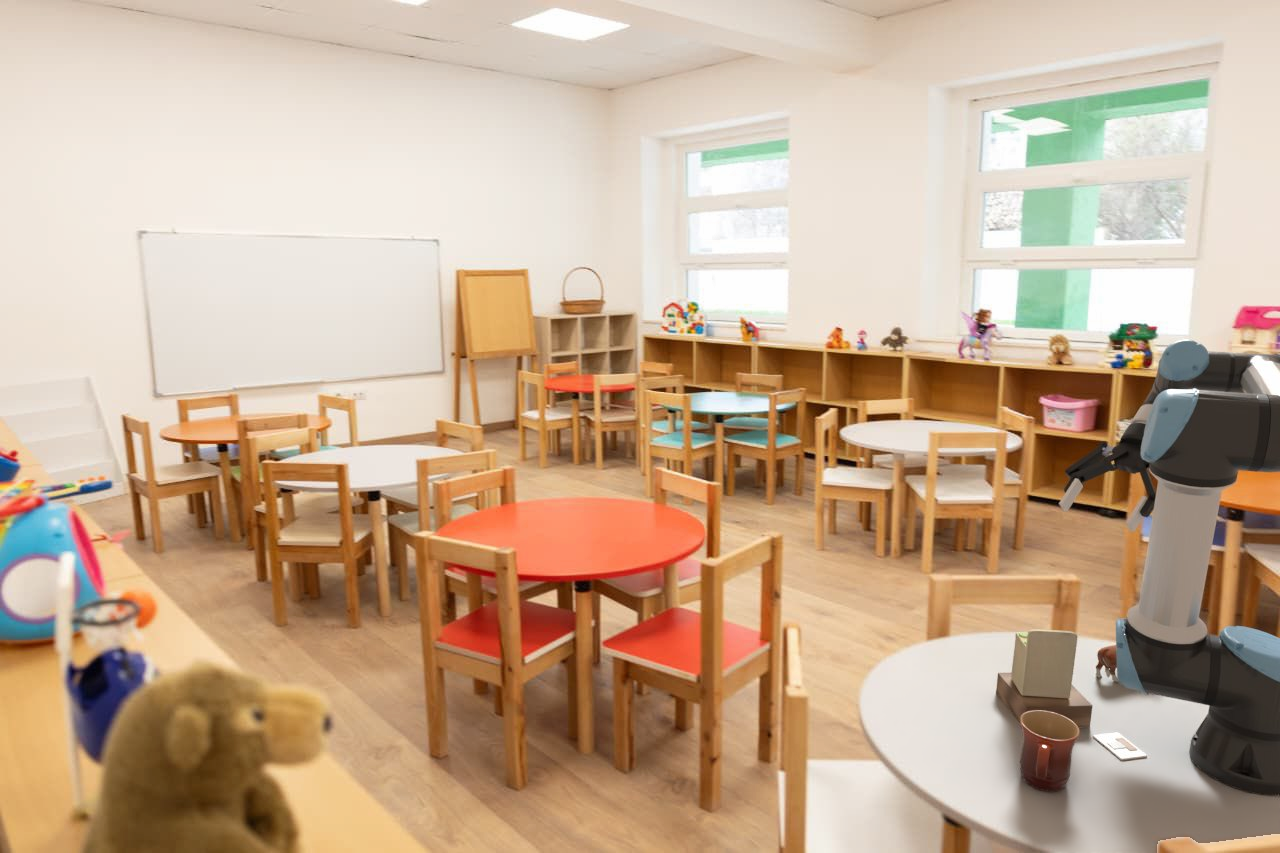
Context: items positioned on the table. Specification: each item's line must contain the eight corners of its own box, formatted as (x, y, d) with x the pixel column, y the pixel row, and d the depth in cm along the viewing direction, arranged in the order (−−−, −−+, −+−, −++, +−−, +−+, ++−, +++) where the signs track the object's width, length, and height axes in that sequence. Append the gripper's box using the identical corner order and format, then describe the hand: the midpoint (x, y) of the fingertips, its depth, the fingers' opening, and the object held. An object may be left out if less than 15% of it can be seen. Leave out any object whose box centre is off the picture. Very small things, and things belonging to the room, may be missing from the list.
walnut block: (1089, 730, 154) (1092, 705, 153) (1024, 731, 154) (1026, 706, 153) (1056, 694, 166) (1059, 671, 165) (995, 695, 166) (997, 672, 165)
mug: (1018, 758, 145) (1024, 704, 143) (1075, 774, 141) (1082, 719, 139) (1006, 797, 135) (1012, 740, 133) (1067, 816, 131) (1075, 757, 129)
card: (1147, 757, 145) (1147, 754, 145) (1121, 760, 145) (1121, 758, 144) (1117, 733, 152) (1117, 731, 152) (1092, 736, 151) (1093, 734, 151)
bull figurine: (1159, 677, 171) (1164, 640, 169) (1102, 685, 168) (1107, 648, 166) (1142, 666, 175) (1147, 630, 173) (1086, 675, 172) (1091, 638, 170)
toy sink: (1056, 679, 162) (1063, 615, 159) (1070, 699, 155) (1078, 633, 152) (1009, 677, 163) (1015, 613, 160) (1021, 696, 156) (1028, 630, 153)
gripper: (1221, 457, 161) (1166, 547, 157) (1095, 431, 182) (1044, 510, 178) (1210, 434, 157) (1154, 525, 153) (1083, 410, 178) (1030, 490, 174)
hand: (1095, 517), depth 165 cm, fingers open, 13 cm apart
